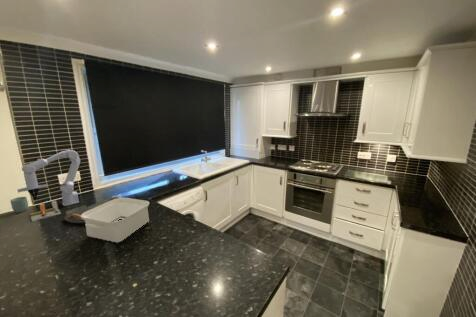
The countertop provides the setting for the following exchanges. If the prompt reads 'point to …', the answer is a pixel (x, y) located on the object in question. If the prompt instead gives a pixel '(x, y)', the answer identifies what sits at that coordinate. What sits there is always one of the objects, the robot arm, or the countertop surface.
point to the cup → (19, 204)
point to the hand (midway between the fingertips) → (35, 198)
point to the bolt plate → (48, 214)
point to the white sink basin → (116, 219)
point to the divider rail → (54, 205)
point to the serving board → (76, 215)
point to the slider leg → (42, 208)
